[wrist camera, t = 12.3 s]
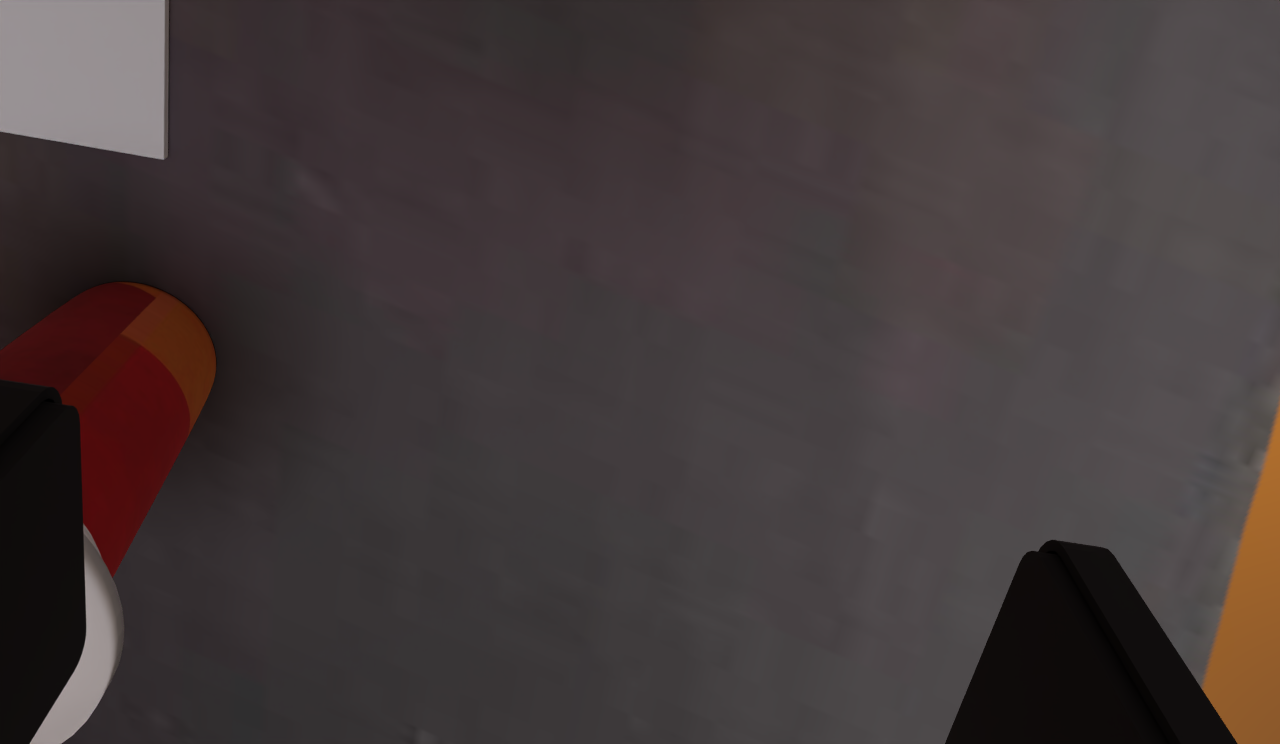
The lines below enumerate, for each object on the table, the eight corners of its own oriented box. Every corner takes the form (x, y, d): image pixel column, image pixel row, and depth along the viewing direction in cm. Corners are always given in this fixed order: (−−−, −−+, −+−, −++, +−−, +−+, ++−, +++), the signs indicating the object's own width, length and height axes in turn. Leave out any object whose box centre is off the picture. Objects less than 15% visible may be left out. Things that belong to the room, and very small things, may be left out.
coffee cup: (-2, 390, 44) (-271, 650, 31) (63, 212, 41) (-206, 414, 28) (207, 480, 46) (40, 761, 33) (284, 316, 43) (134, 553, 30)
